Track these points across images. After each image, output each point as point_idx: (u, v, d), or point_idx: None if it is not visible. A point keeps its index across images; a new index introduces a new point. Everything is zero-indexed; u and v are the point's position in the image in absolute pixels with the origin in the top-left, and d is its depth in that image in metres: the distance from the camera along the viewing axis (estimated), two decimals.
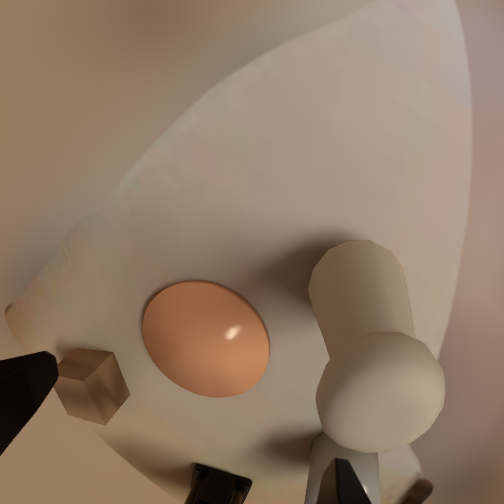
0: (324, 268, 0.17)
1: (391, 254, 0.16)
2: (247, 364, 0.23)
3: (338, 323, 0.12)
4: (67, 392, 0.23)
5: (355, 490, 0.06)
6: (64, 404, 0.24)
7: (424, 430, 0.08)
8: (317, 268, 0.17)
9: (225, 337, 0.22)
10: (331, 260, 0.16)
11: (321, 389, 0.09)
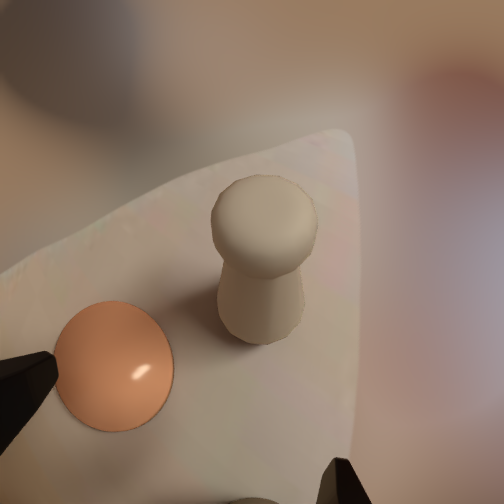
0: None
1: None
2: (147, 390, 0.20)
3: None
4: None
5: (355, 490, 0.06)
6: None
7: (304, 225, 0.12)
8: None
9: (132, 356, 0.21)
10: None
11: None
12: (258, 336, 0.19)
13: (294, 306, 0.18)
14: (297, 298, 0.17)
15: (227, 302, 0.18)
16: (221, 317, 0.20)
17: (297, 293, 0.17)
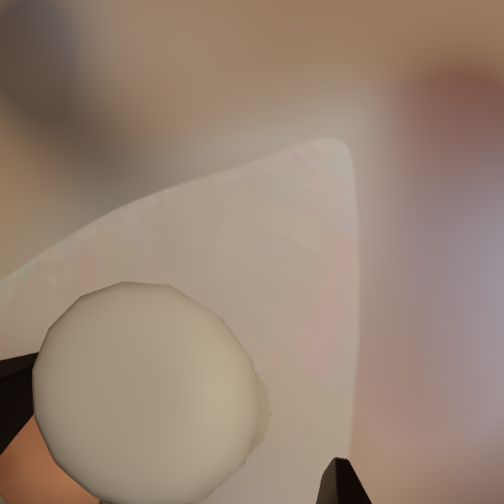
0: None
1: None
2: (75, 493, 0.12)
3: None
4: None
5: (355, 490, 0.06)
6: None
7: (210, 452, 0.04)
8: None
9: None
10: None
11: None
12: None
13: None
14: None
15: None
16: None
17: None
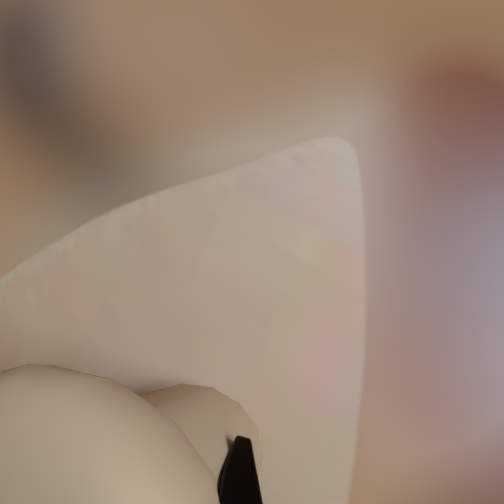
0: None
1: (236, 404, 0.12)
2: None
3: None
4: None
5: (245, 469, 0.06)
6: None
7: None
8: None
9: None
10: (146, 394, 0.11)
11: None
12: None
13: None
14: None
15: None
16: None
17: None
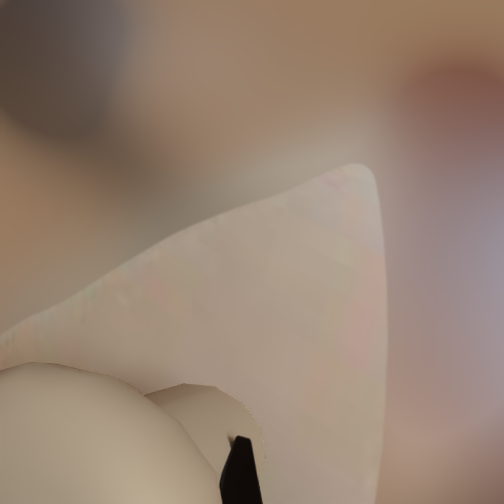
0: None
1: (239, 403, 0.12)
2: None
3: None
4: None
5: (245, 469, 0.06)
6: None
7: None
8: None
9: None
10: None
11: None
12: None
13: None
14: None
15: None
16: None
17: None
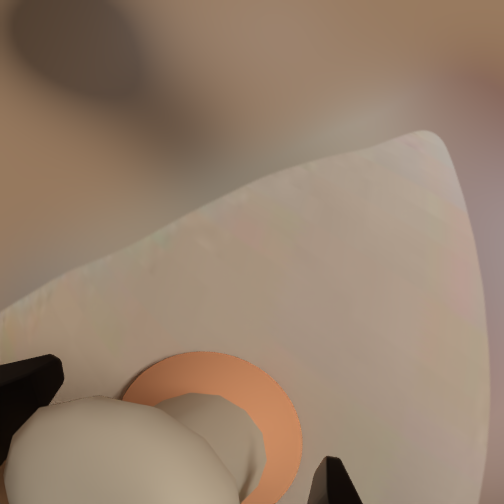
0: None
1: (243, 411, 0.12)
2: (269, 470, 0.13)
3: None
4: None
5: (346, 489, 0.06)
6: None
7: None
8: None
9: None
10: (159, 403, 0.12)
11: None
12: None
13: None
14: (240, 502, 0.08)
15: None
16: None
17: None
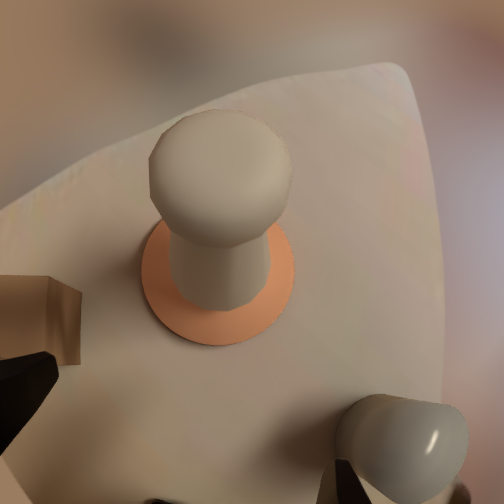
0: None
1: None
2: (269, 289, 0.21)
3: None
4: (5, 306, 0.15)
5: (355, 490, 0.06)
6: None
7: (274, 179, 0.08)
8: None
9: None
10: None
11: None
12: (216, 304, 0.16)
13: (258, 272, 0.15)
14: (262, 263, 0.14)
15: (178, 266, 0.15)
16: (173, 280, 0.17)
17: (262, 257, 0.14)
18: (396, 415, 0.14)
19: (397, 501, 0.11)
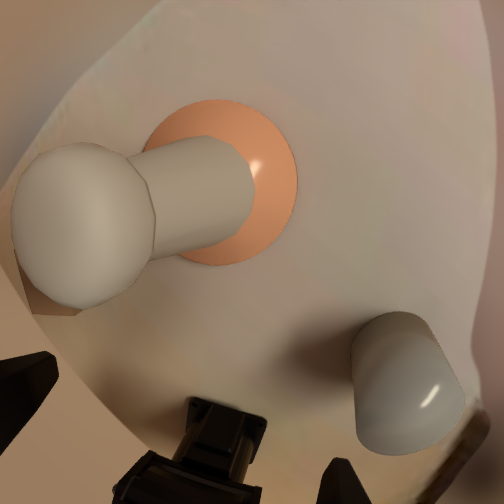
0: None
1: (226, 144, 0.15)
2: (269, 202, 0.18)
3: None
4: None
5: (355, 490, 0.06)
6: (28, 296, 0.19)
7: (95, 264, 0.06)
8: None
9: None
10: None
11: None
12: None
13: (216, 227, 0.13)
14: (213, 224, 0.13)
15: None
16: None
17: (206, 225, 0.12)
18: (387, 369, 0.14)
19: (374, 450, 0.14)
